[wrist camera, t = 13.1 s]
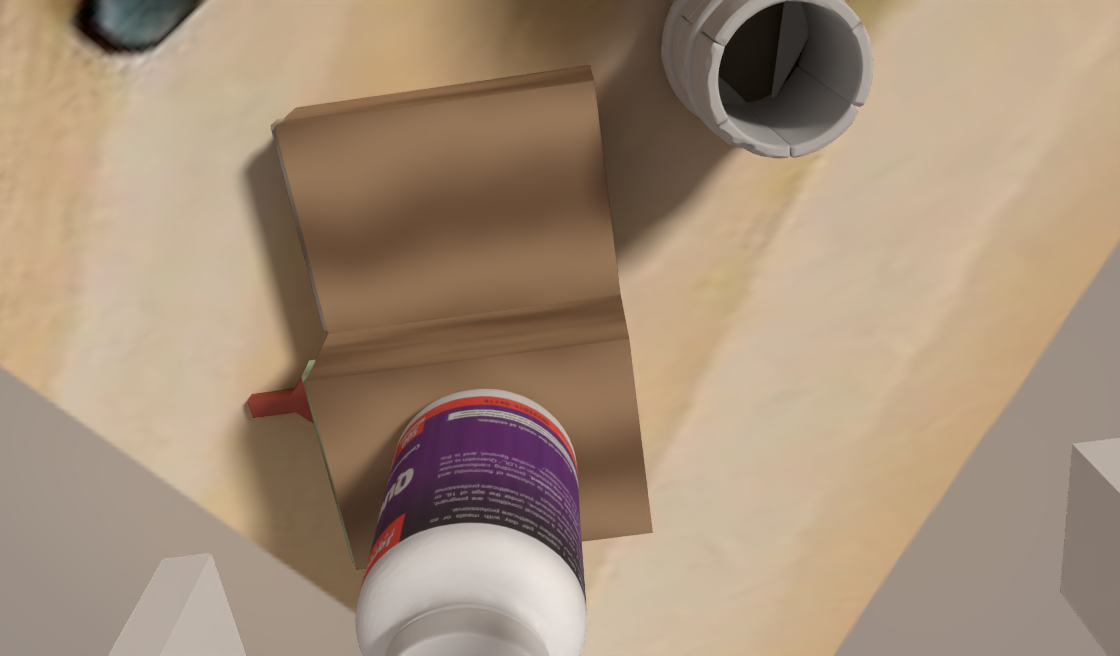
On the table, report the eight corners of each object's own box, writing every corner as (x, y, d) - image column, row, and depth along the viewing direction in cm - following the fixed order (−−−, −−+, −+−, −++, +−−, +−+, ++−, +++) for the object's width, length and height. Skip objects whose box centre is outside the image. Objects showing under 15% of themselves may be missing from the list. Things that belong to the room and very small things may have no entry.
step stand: (171, 125, 47) (93, 175, 39) (590, 65, 46) (600, 103, 38) (278, 481, 55) (231, 585, 47) (635, 435, 54) (652, 532, 46)
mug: (632, 90, 47) (661, 152, 36) (734, -174, 42) (803, -196, 31) (779, 144, 48) (851, 220, 37) (893, -107, 43) (1013, -106, 32)
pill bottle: (396, 373, 42) (331, 591, 29) (583, 383, 43) (602, 603, 30) (396, 530, 46) (337, 790, 33) (569, 538, 46) (581, 798, 33)
